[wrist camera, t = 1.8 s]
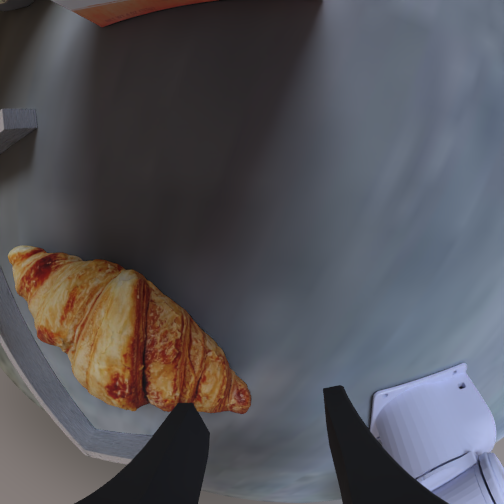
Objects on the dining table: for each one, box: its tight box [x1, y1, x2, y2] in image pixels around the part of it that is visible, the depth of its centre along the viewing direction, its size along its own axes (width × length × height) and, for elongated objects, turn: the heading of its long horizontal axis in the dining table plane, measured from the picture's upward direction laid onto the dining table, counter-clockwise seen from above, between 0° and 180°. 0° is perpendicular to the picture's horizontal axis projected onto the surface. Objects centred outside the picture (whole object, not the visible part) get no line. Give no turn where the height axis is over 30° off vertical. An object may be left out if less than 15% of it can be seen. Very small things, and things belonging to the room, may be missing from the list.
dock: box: [0, 109, 152, 465], centre depth 19 cm, size 11×33×4 cm, turn 12°
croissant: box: [8, 246, 251, 414], centre depth 17 cm, size 21×10×8 cm, turn 60°
